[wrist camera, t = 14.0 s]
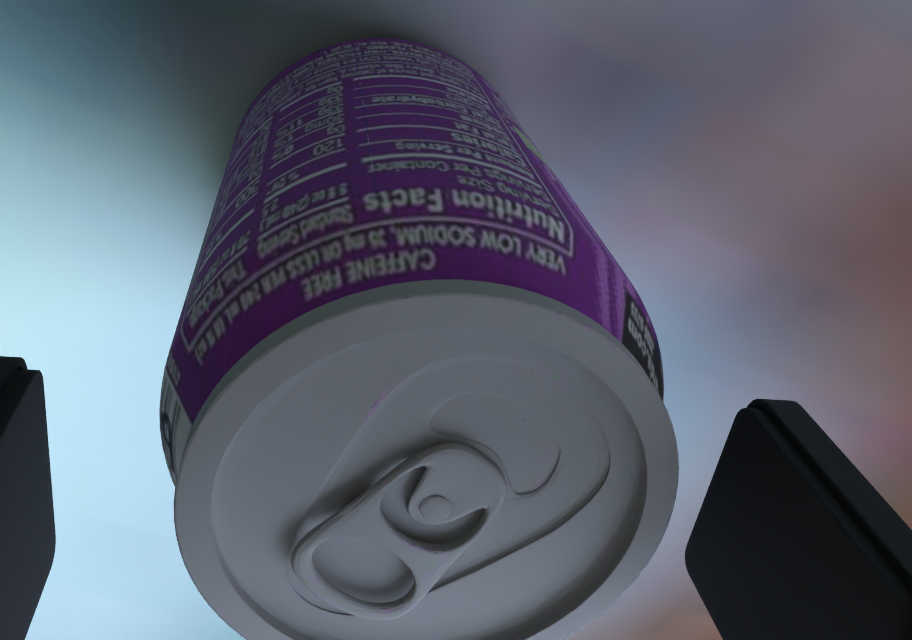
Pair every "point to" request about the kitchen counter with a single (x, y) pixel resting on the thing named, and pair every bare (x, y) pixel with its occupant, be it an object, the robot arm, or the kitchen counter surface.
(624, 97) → the kitchen counter surface
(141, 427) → the kitchen counter surface
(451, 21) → the kitchen counter surface
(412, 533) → the beverage can
